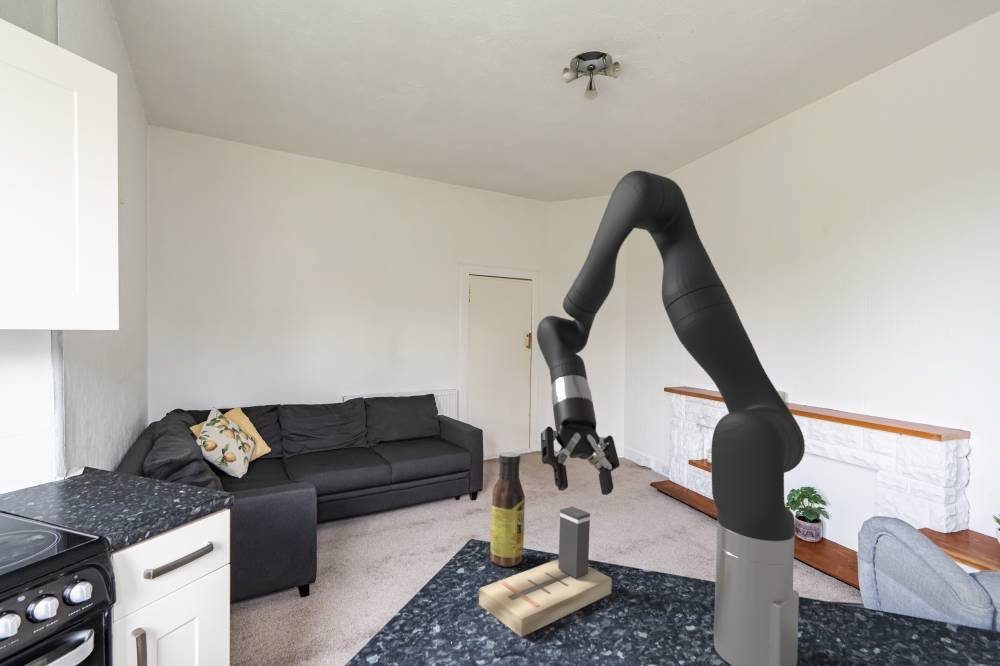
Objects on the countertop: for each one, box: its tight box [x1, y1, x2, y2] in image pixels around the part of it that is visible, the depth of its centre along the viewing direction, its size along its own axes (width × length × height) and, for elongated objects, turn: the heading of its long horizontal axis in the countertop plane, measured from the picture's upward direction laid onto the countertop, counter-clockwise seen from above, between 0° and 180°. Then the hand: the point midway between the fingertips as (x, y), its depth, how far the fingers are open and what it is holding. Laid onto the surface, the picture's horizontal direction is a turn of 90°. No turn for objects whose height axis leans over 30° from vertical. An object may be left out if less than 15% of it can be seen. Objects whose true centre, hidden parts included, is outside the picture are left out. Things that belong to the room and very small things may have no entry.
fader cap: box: [558, 506, 591, 578], centre depth 79 cm, size 4×3×10 cm
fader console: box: [478, 558, 613, 638], centre depth 75 cm, size 10×20×3 cm, turn 129°
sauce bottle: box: [489, 451, 526, 568], centre depth 88 cm, size 7×6×20 cm
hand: (585, 491), depth 78 cm, fingers open, 8 cm apart
